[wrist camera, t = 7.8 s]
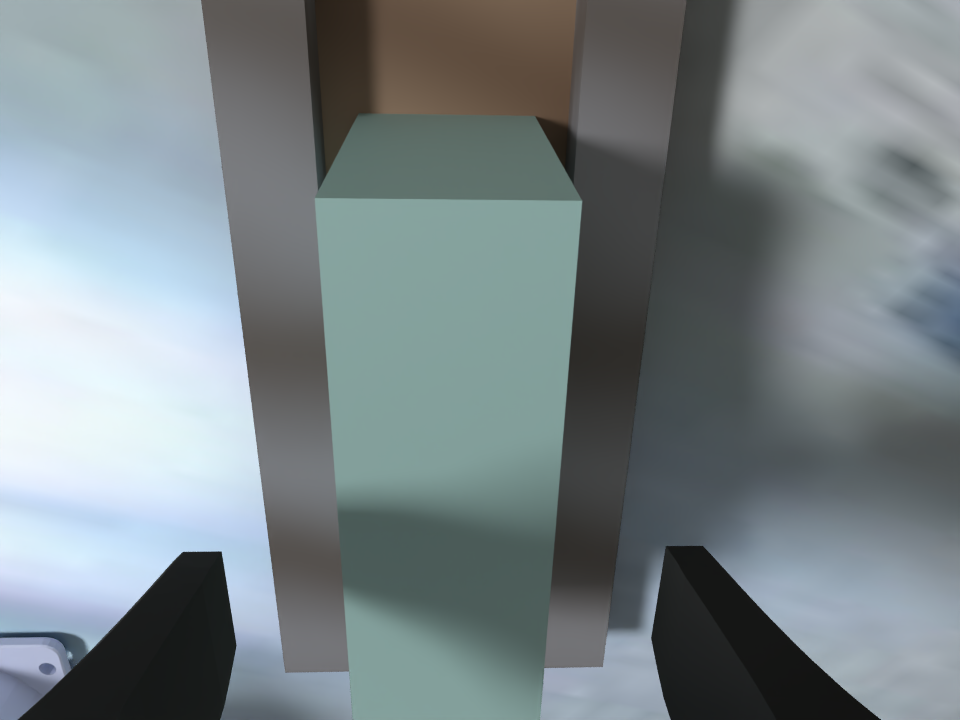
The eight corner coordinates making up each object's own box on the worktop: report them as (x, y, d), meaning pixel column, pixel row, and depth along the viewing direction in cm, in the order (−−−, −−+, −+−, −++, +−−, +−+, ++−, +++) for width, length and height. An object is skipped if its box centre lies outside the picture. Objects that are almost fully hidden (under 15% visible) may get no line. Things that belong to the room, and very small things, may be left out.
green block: (513, 532, 24) (538, 738, 18) (377, 533, 24) (354, 743, 17) (535, 116, 18) (582, 200, 12) (358, 113, 18) (314, 198, 12)
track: (599, 622, 26) (609, 666, 24) (288, 627, 26) (278, 672, 24) (681, -76, 17) (707, -79, 15) (204, -89, 17) (178, -93, 15)
